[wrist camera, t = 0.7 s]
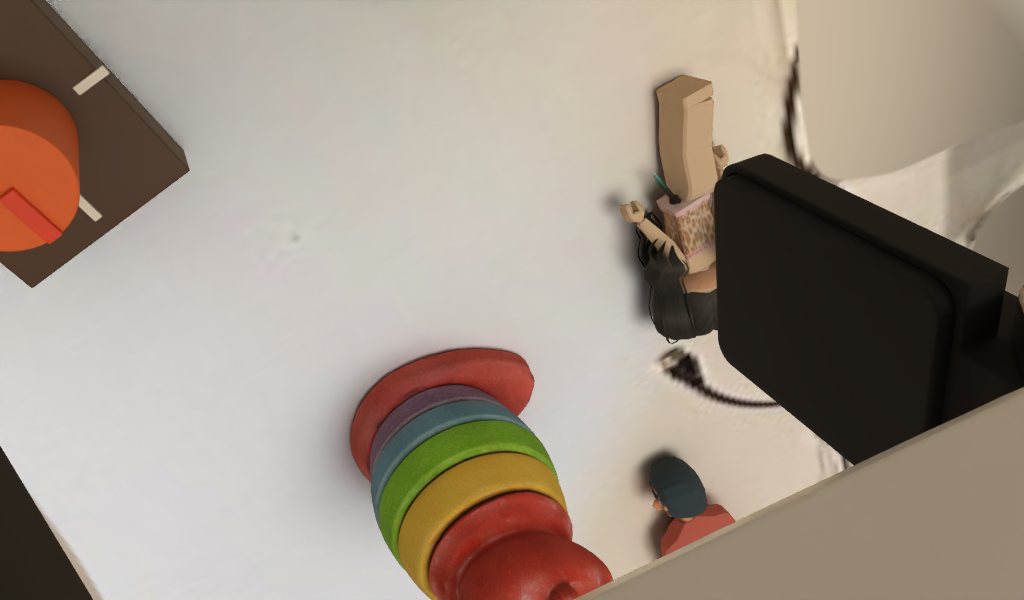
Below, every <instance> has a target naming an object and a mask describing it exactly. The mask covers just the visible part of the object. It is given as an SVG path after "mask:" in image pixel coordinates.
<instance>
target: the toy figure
mask: <svg viewBox="0 0 1024 600" xmlns="http://www.w3.org/2000/svg"><path fill="white" fill-rule="evenodd" d="M656 92H657V96H658V101H659V146H660V156H661V161H662V166H663V171H664V176H665V181H666V185H667V186H666V185H665V184H664V183H663V182H662V180H661V179H660V178H659V177H658V175H657V174H655V173H654V177H655V179H656V180H657V182H658V184H659V185H660V187H661V188H662V190H663V191H664V192H665V194H666V195H665V196H663V197H662V198H660V199H658V200H657V201H656V203H657V205H658V206H659V208H660V210H661V211H662V212H664V222H665V233H666V234H664V233H663V232H662V231H661V229H662V226H661V223H660V222H659V220H658V219H657V218H656V217H655V215H654V214H653V216H654V217H655V218H656V219H657V221H658V222H659V223H660V228H659V227H658V225H657V224H656V223H655V221H654V220H653V219H652V218H651V215H652V212H653V211H651V212H649V213H647V215H646V217H645V218H643V217H644V214H645V210H644V208H643V206H642V205H641V204H640V203H638V202H637V201H631V202H630V203H631V206H632V209H633V212H632V211H631V208H630V205H629V204H625V205H621V207H620V211H621V214H622V216H623V218H624V219H625V220H626V221H627V222H637V223H638V224H637V226H638V228H639V229H640V233H641V235H642V237H643V240H644V241H643V246H642V259H643V261H644V263H643V262H642V261H641V259H640V257H639V247H638V258H639V260H640V261H641V263H642V264H643V266H644V267H645V270H644V276H645V279H646V281H647V282H648V283H649V284H650V285H651V288H653V289H654V293H653V303H652V308H653V317H654V321H653V319H652V316H651V319H652V321H653V323H654V325H655V328H656V330H657V331H658V333H660V334H661V335H663V336H664V337H666V340H667V341H668V343H670V341H669V339H668V338H670V339H673V340H677V341H678V340H680V339H690V338H695V337H696V336H701V335H706V334H708V333H710V332H711V331H712V330H713V329H715V330H718V317H717V284H716V251H715V218H714V187H715V184H716V182H717V181H718V180H720V179H721V176H722V173H723V171H724V170H723V167H725V166H726V165H727V163H728V153H727V151H726V148H725V147H724V146H723V145H719V146H715V147H712V129H713V109H714V101H713V100H712V98H711V96H712V95H713V87H712V82H711V81H707V80H703V79H699V78H695V77H691V76H687V75H682V76H680V77H678V78H676V79H675V80H673V81H671V82H669V83H668V84H666V85H664V86H662V87H661V88H659V89H657V90H656ZM711 193H712V208H711V211H710V208H709V206H708V203H709V202H710V194H711ZM636 233H637V235H638V237H639V239H641V237H640V235H639V234H638V232H637V230H636ZM647 238H648V241H647V244H646V240H647ZM639 245H640V241H639ZM656 248H657V249H658V251H657V250H656ZM663 257H664V258H665V260H666V261H665V260H664V259H663ZM644 264H645V265H646V266H645V265H644ZM650 296H651V291H650ZM649 304H650V299H649ZM649 311H650V307H649ZM650 315H651V312H650ZM677 341H676V342H677ZM676 342H674V343H676ZM671 344H673V343H671Z"/></svg>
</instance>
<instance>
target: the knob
mask: <svg viewBox="0 0 1024 600" xmlns="http://www.w3.org/2000/svg"><path fill="white" fill-rule="evenodd" d="M79 200H80V177H79V143H78V133H77V129H76V126H75V123H74V121H73V119H72V117H71V115H70V114H69V112H68V111H67V109H66V108H65V107H64V106H63V105H62V103H61V102H59V101H58V100H57V99H56V98H55V97H54V96H52V95H51V94H49V93H48V92H46V91H45V90H43V89H41V88H39V87H37V86H34V85H32V84H29V83H25V82H21V81H16V80H5V79H4V80H0V251H22V250H27V249H32V248H35V247H38V246H41V245H43V244H45V243H48V244H51V243H52V242H54V241H55V240H56V239H58V238H59V237H60V236H62V232H63V231H64V230H65V229H66V228H67V227H68V226H69V224H70V223H71V221H72V220H73V218H74V216H75V214H76V212H77V209H78V205H79Z"/></svg>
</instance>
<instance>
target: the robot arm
mask: <svg viewBox="0 0 1024 600" xmlns="http://www.w3.org/2000/svg"><path fill="white" fill-rule="evenodd" d="M714 218H715V251H716V284H717V317H718V341H719V346H720V349H721V351H722V353H723V355H724V357H725V358H726V360H727V361H728V362H729V363H730V364H731V365H732V366H733V367H734V368H736V369H737V370H738V371H739V372H741V373H742V374H743V375H744V376H745V377H747V378H748V379H749V380H750V381H752V382H753V383H754V384H755V385H756V386H758V387H759V388H760V389H761V390H763V391H764V392H765V393H766V394H767V395H769V396H770V397H771V398H772V399H774V400H775V401H776V402H777V403H778V404H780V405H781V406H782V407H783V408H785V409H786V410H787V411H788V412H789V413H791V414H792V415H793V416H794V417H796V418H797V419H798V420H799V421H800V422H802V423H803V424H804V425H805V426H806V427H808V428H809V429H810V430H811V431H813V432H814V433H815V434H816V435H817V436H819V437H820V438H821V439H822V440H824V441H825V442H826V443H827V444H828V445H830V446H831V447H832V448H833V449H835V450H836V451H837V452H838V453H839V454H841V455H842V456H843V457H844V458H846V459H847V460H848V461H849V462H850V463H852V464H853V465H854V466H852V467H850V468H848V469H846V470H844V471H842V472H839V473H837V474H835V475H833V476H831V477H829V478H827V479H825V480H823V481H820V482H818V483H816V484H814V485H812V486H810V487H808V488H806V489H804V490H801V491H799V492H797V493H795V494H793V495H791V496H789V497H787V498H785V499H782V500H780V501H778V502H776V503H774V504H772V505H770V506H768V507H765V508H763V509H761V510H759V511H757V512H755V513H753V514H751V515H749V516H747V517H745V518H743V519H740V520H738V521H736V522H734V523H732V524H730V525H728V526H726V527H724V528H722V529H720V530H717V531H715V532H713V533H711V534H709V535H707V536H705V537H703V538H701V539H699V540H697V541H695V542H692V543H690V544H688V545H686V546H684V547H682V548H680V549H678V550H676V551H674V552H672V553H669V554H667V555H665V556H663V557H661V558H659V559H657V560H655V561H653V562H651V563H649V564H647V565H644V566H642V567H640V568H638V569H636V570H634V571H632V572H630V573H628V574H626V575H624V576H622V577H620V578H617V579H615V580H613V581H611V582H609V583H607V584H605V585H603V586H601V587H599V588H597V589H595V590H593V591H590V592H588V593H586V594H584V595H582V596H580V597H578V598H576V599H574V600H1024V285H1023V287H1022V288H1021V289H1020V291H1019V296H1018V297H1017V296H1015V295H1013V294H1010V293H1009V292H1007V291H1005V287H1006V281H1007V276H1008V270H1009V268H1008V267H1006V266H1004V265H1002V264H1000V263H997V262H995V261H993V260H991V259H989V258H987V257H985V256H983V255H981V254H978V253H976V252H974V251H972V250H970V249H968V248H966V247H964V246H962V245H960V244H957V243H955V242H953V241H951V240H949V239H947V238H945V237H943V236H941V235H938V234H936V233H934V232H932V231H930V230H928V229H926V228H924V227H922V226H919V225H917V224H915V223H913V222H911V221H909V220H907V219H905V218H903V217H900V216H898V215H896V214H894V213H892V212H890V211H888V210H886V209H884V208H881V207H879V206H877V205H875V204H873V203H871V202H869V201H867V200H865V199H862V198H860V197H858V196H856V195H854V194H852V193H850V192H848V191H846V190H843V189H841V188H839V187H837V186H835V185H833V184H831V183H829V182H827V181H825V180H822V179H820V178H818V177H816V176H814V175H812V174H810V173H808V172H806V171H803V170H801V169H799V168H797V167H795V166H793V165H791V164H789V163H787V162H784V161H782V160H780V159H778V158H776V157H774V156H772V155H769V154H761V155H758V156H755V157H752V158H749V159H746V160H743V161H740V162H738V163H735V164H732V165H729V166H727V167H726V168H725V169H724V171H723V173H722V176H721V179H720V180H718V181H717V182H716V184H715V187H714ZM0 600H93V599H92V597H91V595H90V594H89V592H88V590H87V589H86V587H85V585H84V584H83V582H82V581H81V579H80V577H79V575H78V574H77V572H76V571H75V569H74V567H73V565H72V564H71V562H70V560H69V559H68V557H67V556H66V554H65V552H64V551H63V549H62V547H61V546H60V544H59V542H58V541H57V539H56V537H55V536H54V534H53V532H52V531H51V529H50V528H49V526H48V524H47V522H46V521H45V519H44V517H43V516H42V514H41V512H40V511H39V509H38V508H37V506H36V504H35V503H34V501H33V499H32V498H31V496H30V494H29V493H28V491H27V489H26V488H25V486H24V484H23V483H22V481H21V479H20V478H19V476H18V474H17V473H16V471H15V469H14V468H13V466H12V465H11V463H10V461H9V460H8V458H7V456H6V455H5V453H4V451H3V450H2V448H1V446H0Z"/></svg>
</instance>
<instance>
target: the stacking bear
mask: <svg viewBox="0 0 1024 600" xmlns="http://www.w3.org/2000/svg"><path fill="white" fill-rule="evenodd" d="M533 388H534V377H533V375H532V373H531V372H530V369H529V366H528V364H527V363H526V361H525V360H524V359H523V358H522V357H520V356H519V355H517V354H514V353H510V352H505V351H500V350H491V349H465V350H456V351H451V352H445V353H441V354H437V355H433V356H430V357H427V358H424V359H421V360H418V361H415V362H413V363H411V364H409V365H406V366H404V367H402V368H400V369H398V370H396V371H395V372H393V373H391V374H390V375H388V376H387V377H386V378H384V379H383V380H382V381H381V382H380V383H378V384H377V385H376V386H375V387H374V388H373V389H372V390H371V392H370V393H369V394H368V395H367V396H366V398H365V399H364V401H363V402H362V404H361V405H360V407H359V409H358V411H357V413H356V415H355V418H354V421H353V424H352V429H351V439H350V442H351V451H352V455H353V458H354V460H355V462H356V464H357V466H358V468H359V469H360V471H361V472H362V473H363V475H364V476H365V477H366V478H367V479H368V480H369V481H370V482H371V493H372V502H373V507H374V512H375V516H376V520H377V523H378V526H379V528H380V530H381V533H382V536H383V538H384V540H385V542H386V544H387V545H388V547H389V549H390V551H391V552H392V554H393V555H394V557H395V558H396V560H397V561H398V563H399V564H400V565H401V566H402V567H403V569H404V570H406V572H407V573H408V575H409V576H410V577H411V579H412V580H413V581H414V582H415V584H416V585H417V586H418V587H419V588H420V589H421V590H422V591H423V592H424V593H425V594H426V595H427V596H428V597H429V598H430V599H431V600H574V599H576V598H578V597H580V596H582V595H584V594H586V593H588V592H590V591H593V590H595V589H597V588H599V587H601V586H603V585H605V584H607V583H609V582H611V581H613V578H612V575H611V573H610V571H609V569H608V568H607V566H606V565H605V564H604V563H603V562H602V561H601V560H600V559H599V558H598V557H597V556H596V555H594V554H593V553H592V552H590V551H589V550H587V549H586V548H584V547H582V546H580V545H579V544H577V543H574V542H572V535H573V533H572V523H571V520H570V517H569V515H568V511H567V506H566V503H565V499H564V496H563V493H562V490H561V487H560V485H559V481H558V477H557V474H556V471H555V468H554V466H553V463H552V461H551V459H550V457H549V455H548V453H547V451H546V449H545V448H544V446H543V444H542V443H541V442H540V440H539V439H538V438H537V437H536V436H535V434H534V433H533V432H532V431H531V430H530V429H529V428H528V427H527V425H526V424H525V423H524V422H523V421H522V420H521V419H519V418H518V417H517V416H518V415H519V414H520V413H521V412H522V410H523V409H524V408H525V407H526V405H527V404H528V402H529V400H530V397H531V394H532V391H533Z"/></svg>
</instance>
